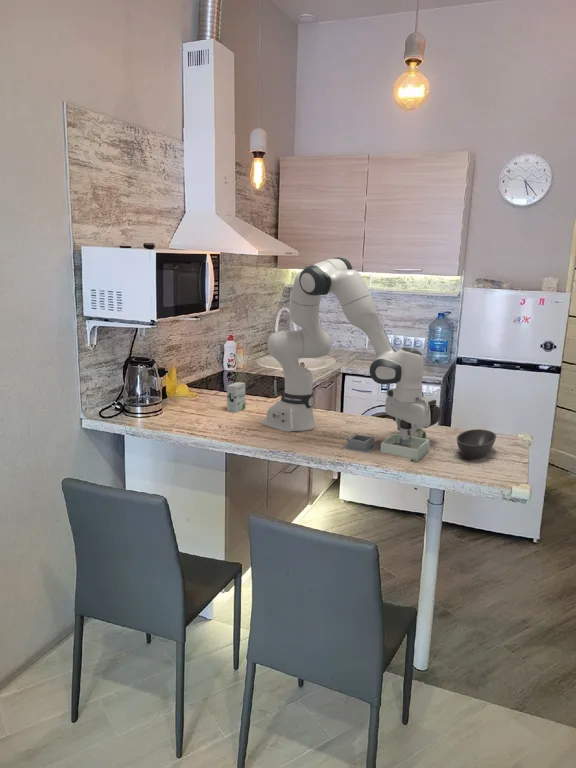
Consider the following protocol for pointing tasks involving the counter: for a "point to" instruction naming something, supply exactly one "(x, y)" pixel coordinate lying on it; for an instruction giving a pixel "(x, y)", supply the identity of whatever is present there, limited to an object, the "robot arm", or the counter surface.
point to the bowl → (475, 443)
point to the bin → (405, 451)
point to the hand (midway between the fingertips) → (406, 432)
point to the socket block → (360, 443)
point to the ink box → (236, 397)
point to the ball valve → (434, 417)
